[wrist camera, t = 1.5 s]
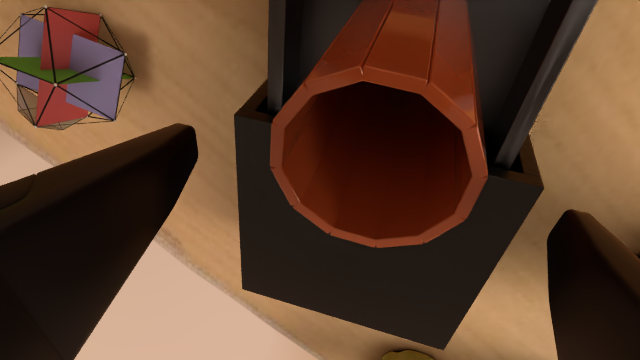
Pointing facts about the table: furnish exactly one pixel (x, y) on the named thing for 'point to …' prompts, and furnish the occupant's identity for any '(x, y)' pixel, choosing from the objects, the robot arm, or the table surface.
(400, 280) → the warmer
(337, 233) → the cup
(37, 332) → the robot arm
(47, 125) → the geometric puzzle
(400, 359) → the plant pot
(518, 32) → the drawer
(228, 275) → the table surface
